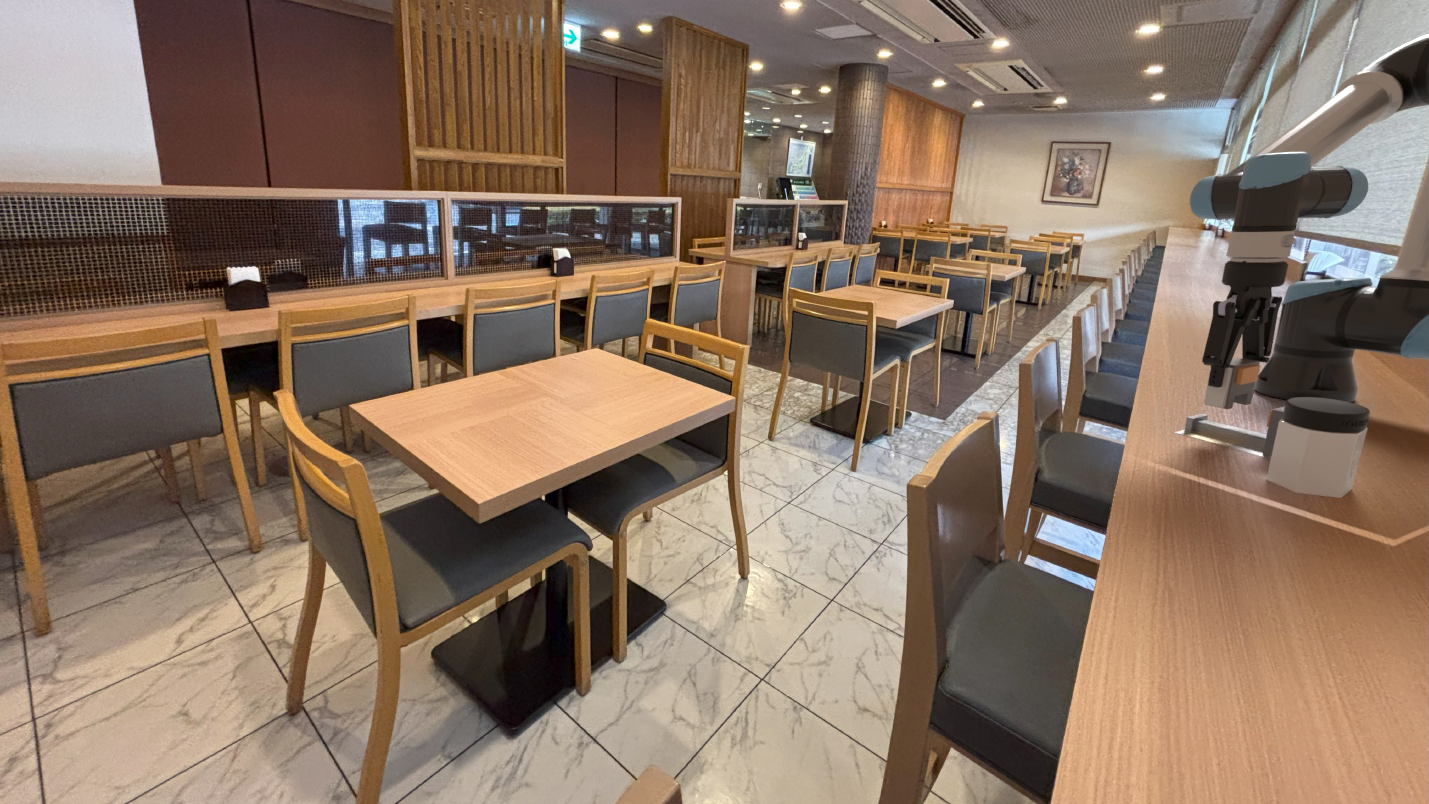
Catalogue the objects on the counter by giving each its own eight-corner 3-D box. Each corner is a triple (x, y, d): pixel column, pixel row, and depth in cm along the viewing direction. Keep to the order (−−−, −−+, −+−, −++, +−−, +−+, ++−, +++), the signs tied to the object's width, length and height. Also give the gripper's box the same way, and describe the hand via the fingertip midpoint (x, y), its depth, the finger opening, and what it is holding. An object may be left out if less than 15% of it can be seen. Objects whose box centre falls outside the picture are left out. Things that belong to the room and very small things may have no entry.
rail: (1206, 427, 111) (1209, 411, 110) (1352, 464, 93) (1357, 445, 92) (1173, 435, 107) (1176, 419, 107) (1318, 475, 90) (1322, 456, 89)
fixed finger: (1311, 452, 96) (1322, 408, 94) (1287, 460, 94) (1297, 414, 92) (1281, 445, 100) (1291, 402, 98) (1257, 452, 97) (1266, 408, 95)
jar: (1337, 507, 81) (1359, 419, 77) (1258, 487, 87) (1275, 405, 84) (1357, 489, 85) (1380, 405, 82) (1281, 471, 92) (1298, 393, 88)
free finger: (1205, 404, 103) (1213, 362, 101) (1229, 399, 105) (1237, 357, 103) (1231, 410, 100) (1240, 366, 98) (1255, 404, 102) (1264, 361, 100)
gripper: (1246, 264, 89) (1216, 417, 96) (1322, 257, 97) (1289, 400, 103) (1190, 262, 96) (1165, 405, 103) (1265, 255, 103) (1237, 389, 110)
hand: (1227, 402), depth 103 cm, fingers closed on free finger, 6 cm apart
